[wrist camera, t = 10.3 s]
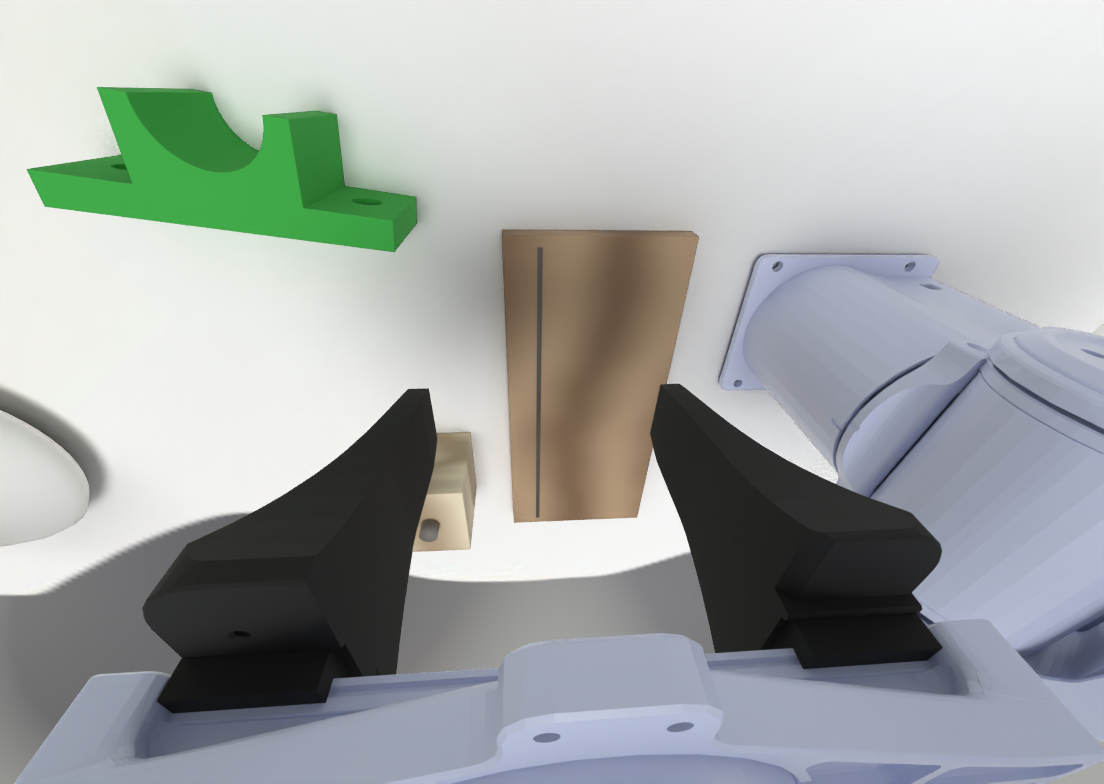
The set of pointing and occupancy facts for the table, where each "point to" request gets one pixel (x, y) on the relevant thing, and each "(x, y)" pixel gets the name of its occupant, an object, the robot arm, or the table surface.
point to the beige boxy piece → (449, 497)
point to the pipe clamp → (226, 174)
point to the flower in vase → (36, 484)
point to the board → (588, 363)
